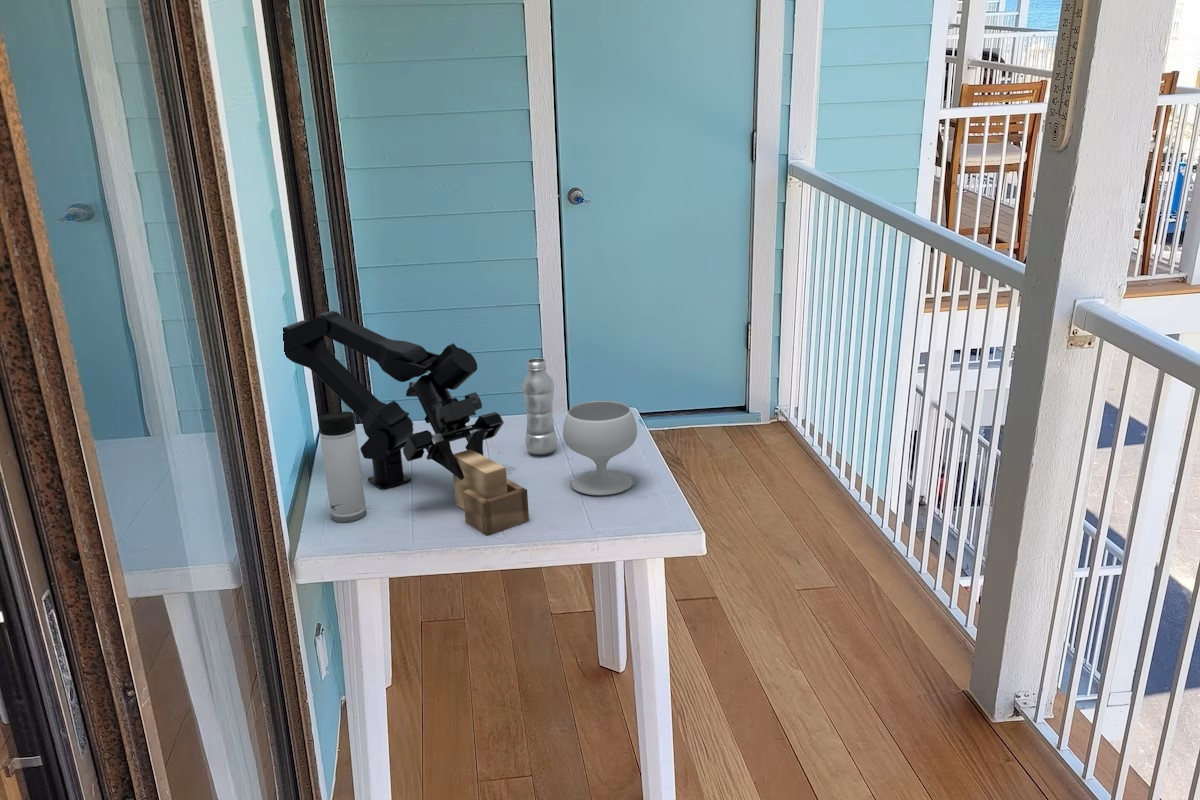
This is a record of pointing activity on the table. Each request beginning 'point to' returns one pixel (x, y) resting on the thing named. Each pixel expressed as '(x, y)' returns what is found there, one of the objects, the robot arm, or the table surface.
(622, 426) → the chalice
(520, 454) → the table surface
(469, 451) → the tan wooden block
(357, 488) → the travel mug
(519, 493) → the end cap
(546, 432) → the plastic bottle
